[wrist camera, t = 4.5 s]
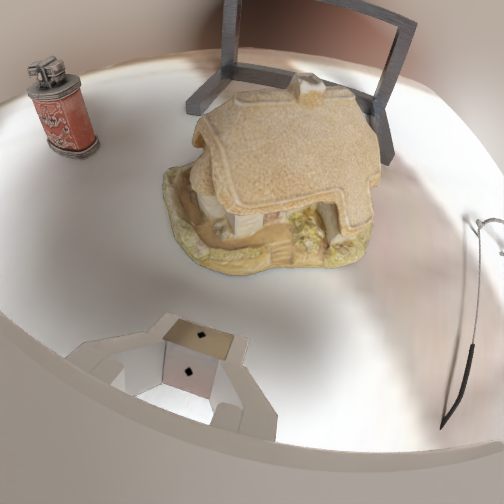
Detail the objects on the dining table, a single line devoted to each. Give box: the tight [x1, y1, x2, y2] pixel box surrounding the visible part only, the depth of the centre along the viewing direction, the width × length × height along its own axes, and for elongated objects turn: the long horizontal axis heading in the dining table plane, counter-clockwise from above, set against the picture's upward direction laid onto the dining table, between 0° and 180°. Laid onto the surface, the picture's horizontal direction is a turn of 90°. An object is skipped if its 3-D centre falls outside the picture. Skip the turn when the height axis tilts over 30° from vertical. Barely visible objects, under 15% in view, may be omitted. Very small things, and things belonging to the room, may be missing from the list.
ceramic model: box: [163, 73, 381, 276], centre depth 15 cm, size 14×11×10 cm
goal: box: [186, 0, 417, 166], centre depth 20 cm, size 20×11×14 cm, turn 74°
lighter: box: [27, 56, 100, 160], centre depth 17 cm, size 8×3×10 cm, turn 64°
